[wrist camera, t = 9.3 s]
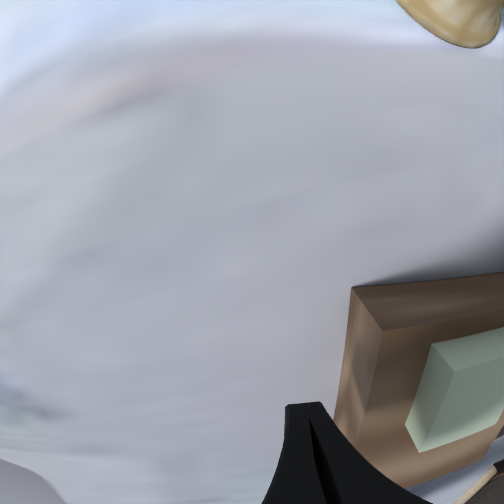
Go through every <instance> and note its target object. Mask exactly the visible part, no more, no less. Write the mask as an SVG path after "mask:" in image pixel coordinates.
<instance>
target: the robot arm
mask: <svg viewBox="0 0 504 504" xmlns="http://www.w3.org/2000/svg"><path fill="white" fill-rule="evenodd" d="M262 504H433V503H430V502H428V501H426V500H424V499H422V498H420V497H418V496H416V495H414V494H412V493H411V492H409V491H407V490H405V489H404V488H402V487H401V486H399V485H398V484H396V483H395V482H393V481H392V480H390V479H389V478H387V477H386V476H385V475H384V474H382V473H381V472H380V471H379V470H377V469H376V468H375V467H374V466H373V465H372V464H370V463H369V462H368V461H367V460H366V459H365V458H364V457H363V456H362V455H361V454H360V453H359V452H358V451H357V450H356V449H355V448H354V446H353V445H352V444H351V443H350V442H349V441H348V439H347V438H346V437H345V436H344V435H343V433H342V432H341V431H340V430H339V428H338V427H337V426H336V424H335V423H334V421H333V420H332V419H331V417H330V416H329V414H328V413H327V411H326V409H325V408H324V406H323V404H322V403H321V402H310V403H300V404H288V405H287V406H286V407H285V428H284V443H283V448H282V451H281V455H280V459H279V462H278V466H277V469H276V472H275V474H274V477H273V480H272V482H271V485H270V487H269V489H268V491H267V494H266V496H265V498H264V500H263V502H262Z"/></svg>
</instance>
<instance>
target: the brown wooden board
mask: <svg viewBox="0 0 504 504" xmlns="http://www.w3.org/2000/svg"><path fill="white" fill-rule="evenodd" d="M502 327H504V272H500V273H493V274H484V275H476V276H468V277H459V278H450V279H440V280H430V281H420V282H410V283H399V284H388V285H376V286H364V287H351V297H350V307H349V317H348V326H347V334H346V342H345V350H344V358H343V365H342V372H341V378H340V385H339V391H338V397H337V403H336V409H335V414H334V420H333V421H334V423H335V424H336V426H337V427H338V428H339V430H340V431H341V432H342V433H343V435H344V436H345V437H346V438H347V439H348V441H349V442H350V443H351V444H352V445H353V446H354V448H355V449H356V450H357V451H358V452H359V453H360V454H361V455H362V456H363V457H364V458H365V459H366V460H367V461H368V462H369V463H370V464H372V465H373V466H374V467H375V468H376V469H377V470H379V471H380V472H381V473H382V474H384V475H385V476H386V477H387V478H389V479H390V480H392V481H393V482H395V483H396V484H398V485H399V486H401V487H402V488H404V489H405V488H408V487H412V486H415V485H418V484H421V483H424V482H427V481H430V480H433V479H435V478H438V477H441V476H444V475H446V474H449V473H451V472H454V471H456V470H459V469H461V468H464V467H466V466H468V465H470V464H473V463H475V462H477V461H479V460H481V459H482V458H483V457H484V455H485V454H486V452H487V451H488V449H489V448H490V446H491V444H492V443H493V441H494V440H495V438H496V437H497V435H498V433H499V432H500V430H501V428H502V427H503V425H504V410H503V412H502V414H501V415H500V417H499V419H498V421H497V423H496V424H495V425H493V426H490V427H488V428H486V429H484V430H481V431H479V432H476V433H474V434H472V435H469V436H466V437H464V438H461V439H459V440H456V441H453V442H451V443H448V444H445V445H442V446H439V447H436V448H433V449H430V450H427V451H424V452H420V453H419V452H418V450H417V448H416V446H415V444H414V442H413V440H412V438H411V436H410V434H409V432H408V430H407V428H406V426H405V423H406V421H407V418H408V415H409V413H410V410H411V407H412V405H413V402H414V399H415V396H416V393H417V390H418V387H419V384H420V381H421V378H422V375H423V371H424V368H425V365H426V361H427V358H428V355H429V351H430V347H431V344H433V343H438V342H443V341H447V340H452V339H457V338H461V337H466V336H470V335H474V334H478V333H482V332H486V331H490V330H494V329H498V328H502Z"/></svg>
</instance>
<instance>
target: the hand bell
mask: <svg viewBox="0 0 504 504" xmlns="http://www.w3.org/2000/svg"><path fill="white" fill-rule="evenodd" d="M396 1H397V2H398V3H399V5H400V6H401V7H402V8H403V9H404V10H405V11H406V12H407V13H408V14H409V15H410V16H411V17H412V18H413V19H414V20H415V21H416V22H418V23H419V24H420V25H421V26H423V27H424V28H425V29H427V30H428V31H429V32H431V33H432V34H434V35H435V36H437V37H439V38H441V39H443V40H444V41H446V42H449V43H451V44H454V45H457V46H461V47H466V48H479V47H481V46H484V45H486V44H488V43H489V42H490V41H491V40H492V39H493V38H494V36H495V35H496V33H497V31H498V28H499V25H500V18H501V10H502V9H503V7H504V0H396Z"/></svg>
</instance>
